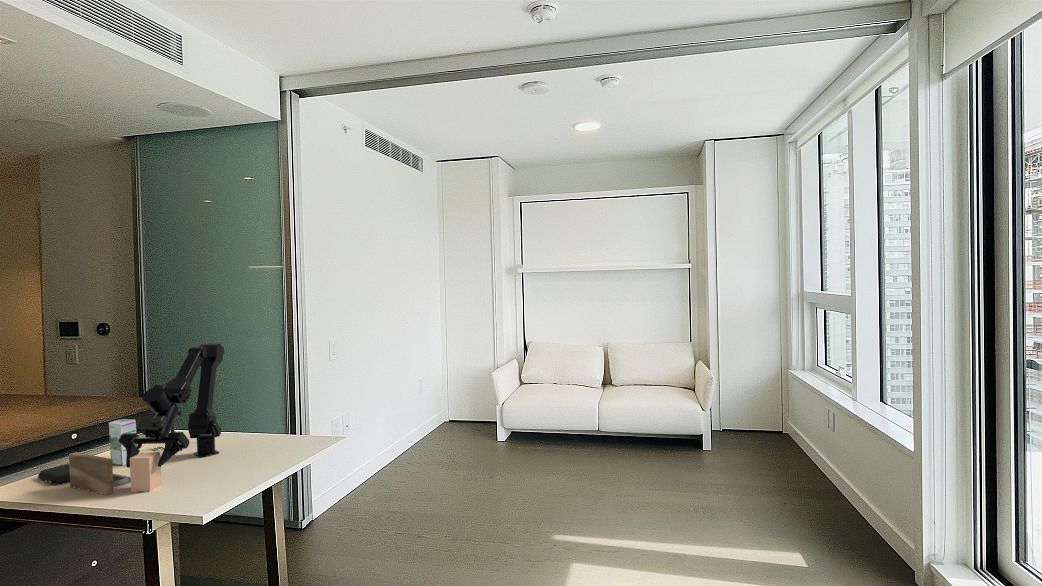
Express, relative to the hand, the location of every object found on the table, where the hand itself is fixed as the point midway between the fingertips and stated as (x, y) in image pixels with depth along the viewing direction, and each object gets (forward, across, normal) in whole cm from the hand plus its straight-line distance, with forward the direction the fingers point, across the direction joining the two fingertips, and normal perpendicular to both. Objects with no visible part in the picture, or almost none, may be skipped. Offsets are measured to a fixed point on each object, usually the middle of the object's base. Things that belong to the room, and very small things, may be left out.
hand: (143, 466), depth 175 cm
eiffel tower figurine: (-27, -18, +38) cm, 50 cm away
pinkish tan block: (+4, 0, +6) cm, 7 cm away
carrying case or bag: (-4, -34, +14) cm, 37 cm away
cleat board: (+1, -14, +8) cm, 17 cm away
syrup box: (-14, -24, +24) cm, 37 cm away
